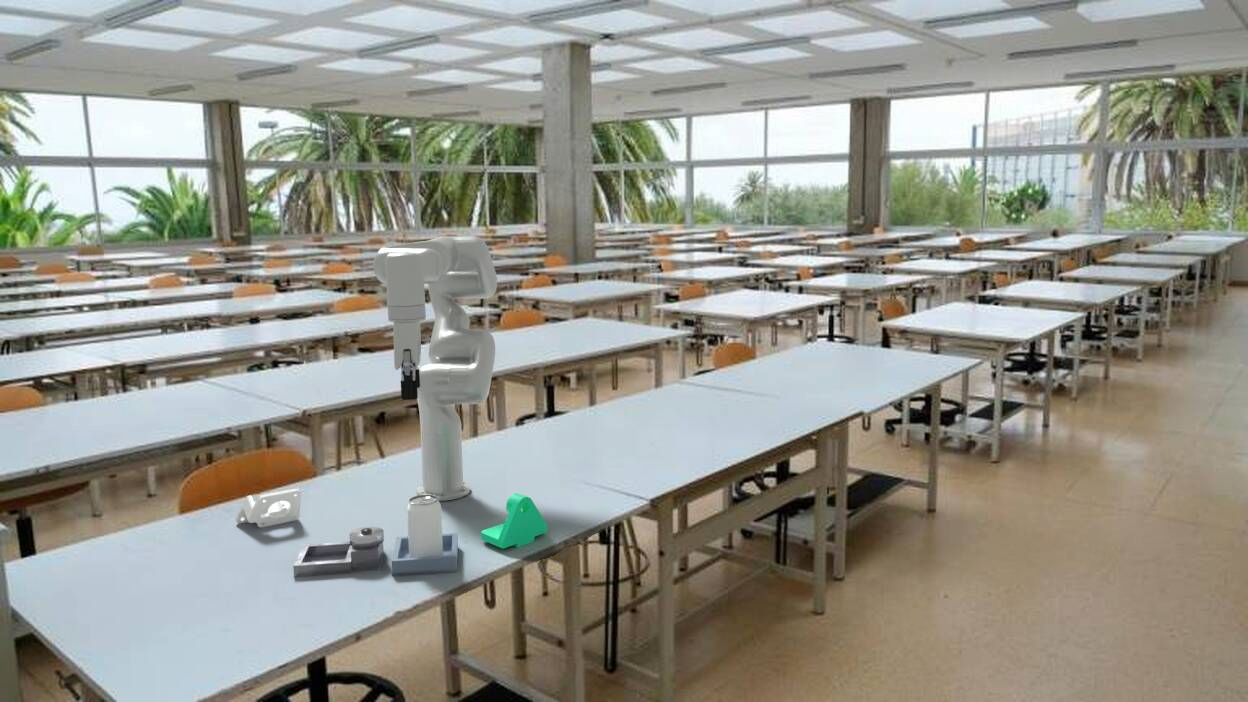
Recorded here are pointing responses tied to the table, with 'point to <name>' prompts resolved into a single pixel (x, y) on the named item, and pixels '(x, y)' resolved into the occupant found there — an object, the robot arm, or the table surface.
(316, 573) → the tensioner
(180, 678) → the table surface
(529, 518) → the camera mount
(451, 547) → the tray
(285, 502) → the mounting bracket
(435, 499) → the can
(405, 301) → the robot arm
